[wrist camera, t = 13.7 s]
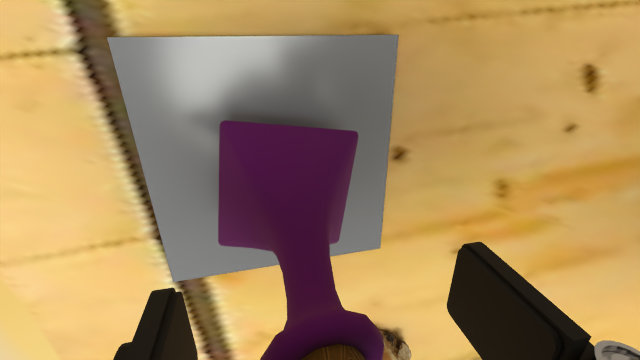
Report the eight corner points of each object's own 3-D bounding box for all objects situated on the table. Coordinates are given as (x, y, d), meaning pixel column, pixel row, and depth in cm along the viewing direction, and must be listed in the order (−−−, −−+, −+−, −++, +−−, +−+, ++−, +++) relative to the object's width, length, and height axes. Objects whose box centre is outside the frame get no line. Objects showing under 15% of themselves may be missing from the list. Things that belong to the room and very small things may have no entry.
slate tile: (391, 34, 20) (398, 34, 19) (375, 241, 26) (380, 248, 26) (114, 37, 16) (107, 37, 16) (175, 272, 23) (173, 281, 22)
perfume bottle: (326, 217, 23) (520, 615, 7) (220, 217, 21) (163, 770, 5) (342, 118, 20) (726, 411, 4) (222, 107, 18) (105, 581, 2)
